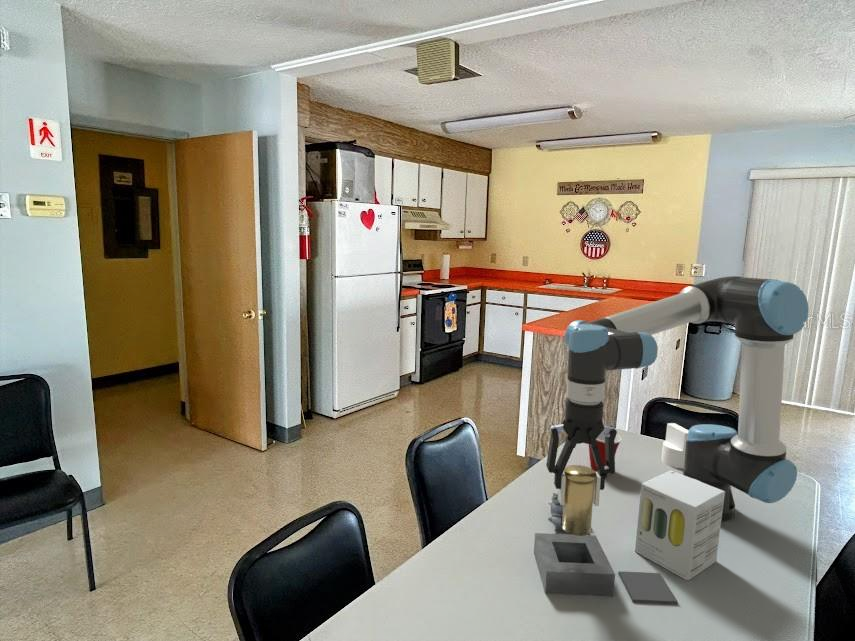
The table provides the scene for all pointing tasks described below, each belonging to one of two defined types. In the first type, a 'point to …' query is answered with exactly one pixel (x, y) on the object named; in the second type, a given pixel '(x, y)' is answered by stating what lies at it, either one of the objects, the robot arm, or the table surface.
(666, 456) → the cylinder with rectangular tab
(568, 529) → the end cover
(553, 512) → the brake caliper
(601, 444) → the plastic cup
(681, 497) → the supplement box
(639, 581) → the mat
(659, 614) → the table surface
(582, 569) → the housing
